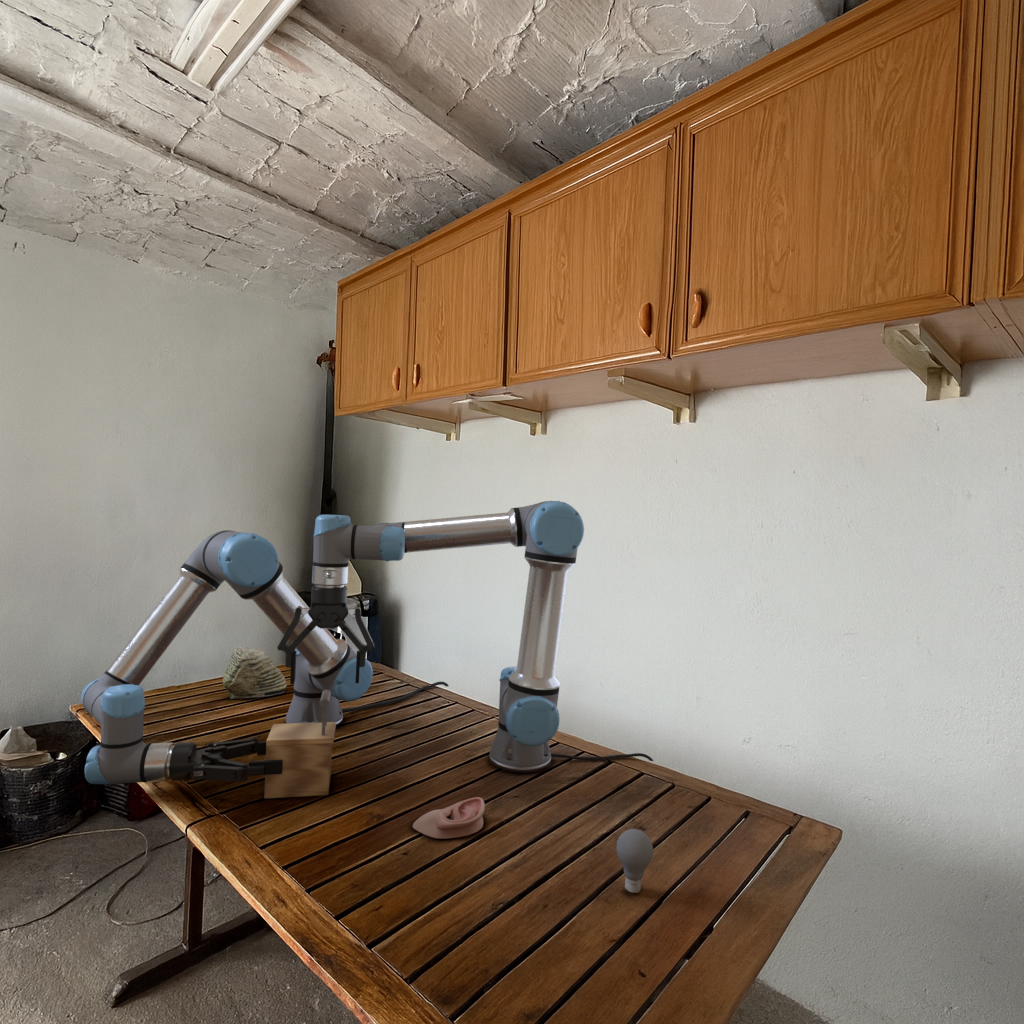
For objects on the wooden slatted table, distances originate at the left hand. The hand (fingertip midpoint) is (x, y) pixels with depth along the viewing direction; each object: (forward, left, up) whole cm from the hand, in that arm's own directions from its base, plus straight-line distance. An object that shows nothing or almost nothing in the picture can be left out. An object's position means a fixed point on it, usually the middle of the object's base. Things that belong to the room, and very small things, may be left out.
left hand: (285, 756), depth 137 cm
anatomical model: (-13, +37, -7) cm, 40 cm away
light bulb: (-19, +74, -7) cm, 77 cm away
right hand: (-6, +5, +16) cm, 18 cm away
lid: (-3, +2, +4) cm, 6 cm away
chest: (-2, +2, -7) cm, 7 cm away
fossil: (-28, -62, -7) cm, 69 cm away
